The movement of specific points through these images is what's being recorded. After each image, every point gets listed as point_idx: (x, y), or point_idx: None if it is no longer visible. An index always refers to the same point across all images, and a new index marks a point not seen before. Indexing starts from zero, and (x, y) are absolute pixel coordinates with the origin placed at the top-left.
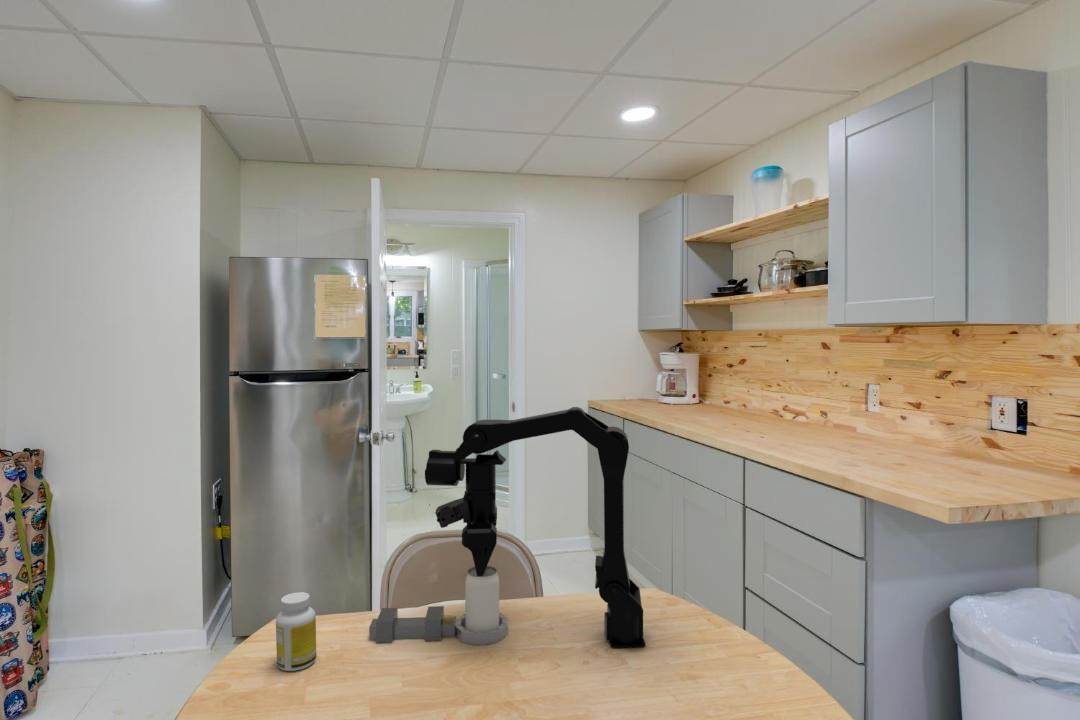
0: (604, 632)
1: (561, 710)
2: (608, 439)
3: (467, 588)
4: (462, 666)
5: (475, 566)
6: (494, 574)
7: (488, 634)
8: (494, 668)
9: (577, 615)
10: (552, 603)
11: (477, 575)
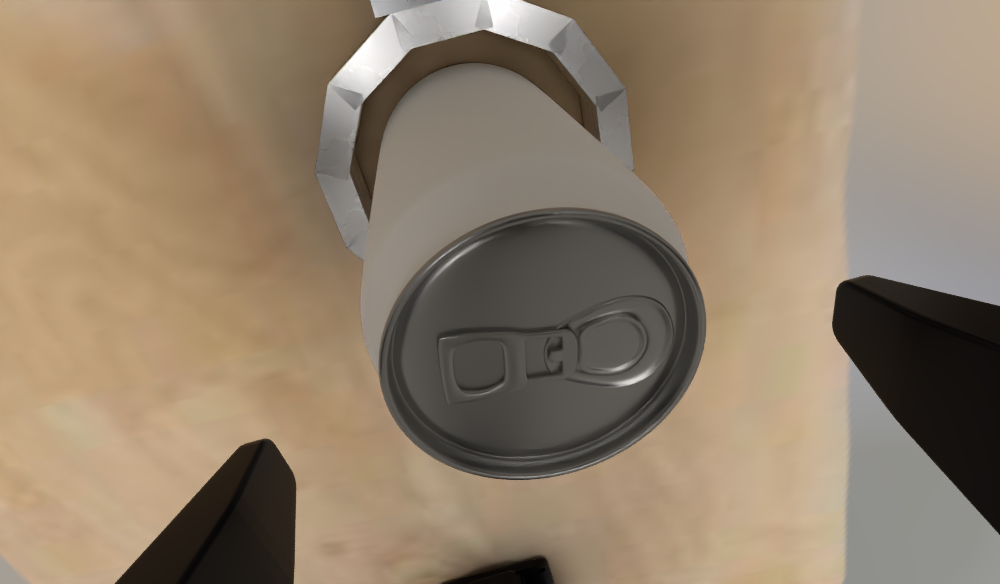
0: (510, 574)
1: (8, 556)
2: None
3: (401, 187)
4: (87, 163)
5: (131, 573)
6: (503, 464)
7: (349, 246)
8: (150, 309)
9: (666, 468)
10: (779, 375)
11: (242, 451)
